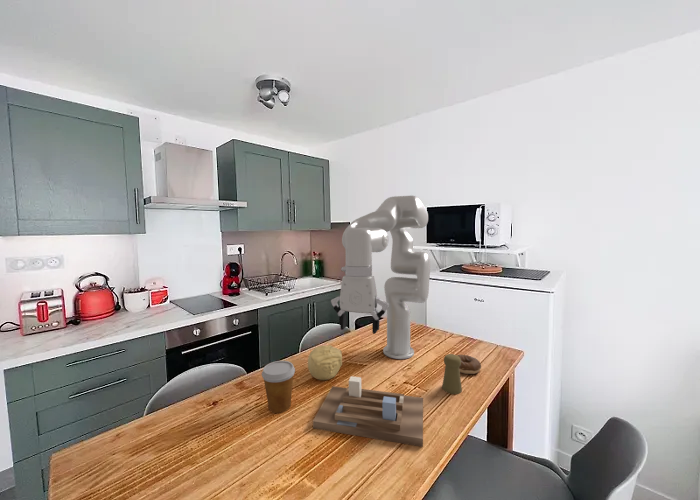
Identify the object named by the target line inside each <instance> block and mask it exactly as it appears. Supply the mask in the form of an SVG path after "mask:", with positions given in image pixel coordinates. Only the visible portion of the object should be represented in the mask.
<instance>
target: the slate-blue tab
mask: <svg viewBox="0 0 700 500" xmlns="http://www.w3.org/2000/svg"><path fill="white" fill-rule="evenodd" d="M382 406H383V419H385V420H392V421H396V398H393V397H385V396H384V398H383V402H382Z"/></svg>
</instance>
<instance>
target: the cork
mask: <svg viewBox="0 0 700 500" xmlns="http://www.w3.org/2000/svg"><path fill="white" fill-rule="evenodd" d="M457 355H458V354H453V353H448V354H445V356H444V357H443V364H444V365H445V368H444V374H443V378H442V379H443V380H442V386H441V388H442V390H443V391H444V392H446V393H447V394H451V395H459V394H461V393H462V391H463V388H462V381H461V379H462V378H461V372H460V370H459V367H460V365H461V359H460V358H459V356H457Z"/></svg>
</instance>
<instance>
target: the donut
mask: <svg viewBox="0 0 700 500" xmlns="http://www.w3.org/2000/svg"><path fill="white" fill-rule="evenodd" d="M456 355H457V356H459V358H460V359H461V365H460V367H459V370H460V374H465V375H466V374H467V375H474V374H478V373H479V372H481V369H482V364H481V362H480V360H479V359H477V358H475V357H474V356H473V357H472V356H471V355H469V354H468V355H467V354H456Z"/></svg>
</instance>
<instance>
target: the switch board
mask: <svg viewBox="0 0 700 500" xmlns="http://www.w3.org/2000/svg"><path fill="white" fill-rule="evenodd" d="M326 395H327V396H326V397H325V399H324V401H323V402H322V404H321V406H320V408H319V409H318V411H317V413H316V415H315V417H314V418H313V420H312V428H313V429H315V430H321V431H326V432H327V431H328V432H333V433H338V434H339V433H340V434H345V435H352V436H355V437H363V438H369V439H373V440H381V441H387V442H392V443H393V442H394V443H398V444H404V445H405V444H406V445H409V446H410V445H411V446H414V447H415V446H416V447H422V448H423V447H424V397H420V396H411V395H405V393H399V392H398V393H397V392H390V391H389V392H388V391H384V390H383V391H382V390H375V389H374V390H373V389H366V388H361V397H354V396H349V386H348V387H342V386H341V387H340V386H336V385H335V386H334V385H333V386H331V388H330V389H329V392H328V393H327V394H326ZM384 396H385V397H393V398H396V421H392V420H385V419H383V406H382V402H383V398H384Z"/></svg>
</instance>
